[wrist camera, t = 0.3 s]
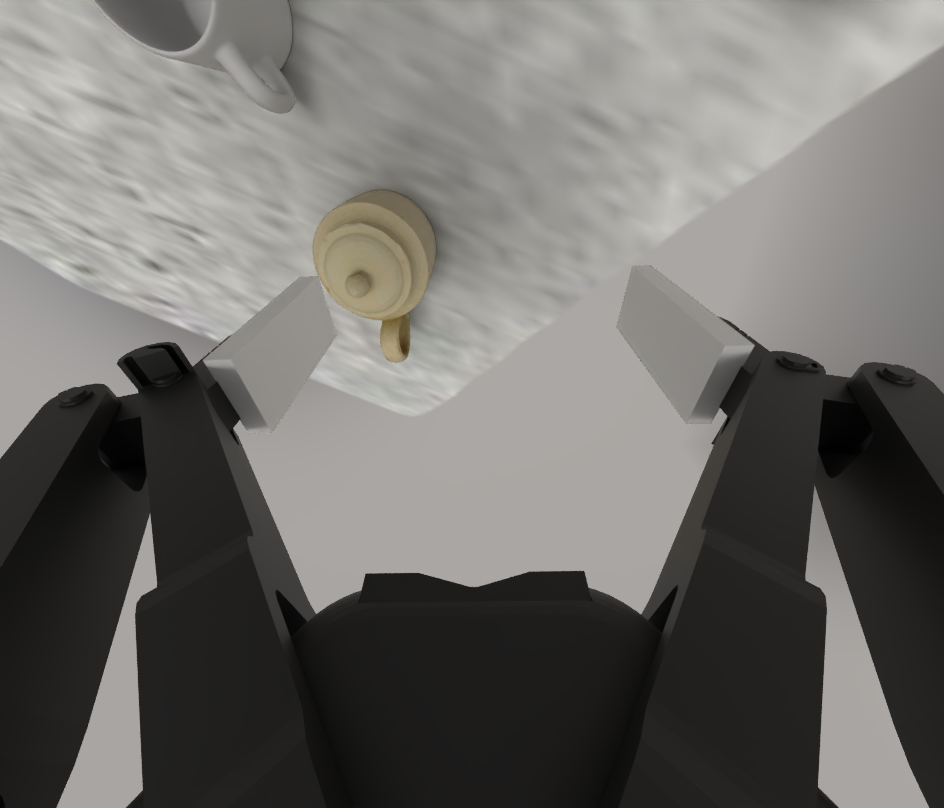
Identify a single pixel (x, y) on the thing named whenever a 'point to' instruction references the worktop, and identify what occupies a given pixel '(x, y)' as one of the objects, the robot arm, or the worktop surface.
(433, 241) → the beige teapot
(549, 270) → the worktop surface
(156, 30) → the mug
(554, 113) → the worktop surface
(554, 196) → the worktop surface
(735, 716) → the robot arm
